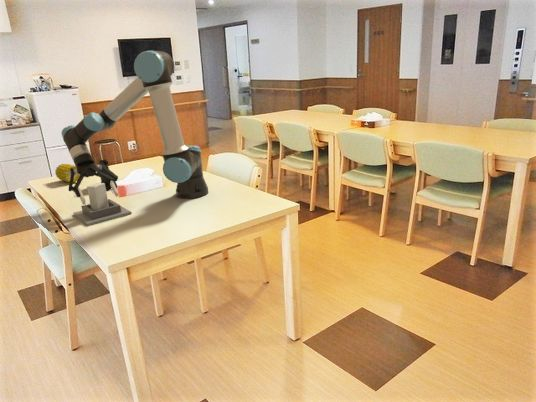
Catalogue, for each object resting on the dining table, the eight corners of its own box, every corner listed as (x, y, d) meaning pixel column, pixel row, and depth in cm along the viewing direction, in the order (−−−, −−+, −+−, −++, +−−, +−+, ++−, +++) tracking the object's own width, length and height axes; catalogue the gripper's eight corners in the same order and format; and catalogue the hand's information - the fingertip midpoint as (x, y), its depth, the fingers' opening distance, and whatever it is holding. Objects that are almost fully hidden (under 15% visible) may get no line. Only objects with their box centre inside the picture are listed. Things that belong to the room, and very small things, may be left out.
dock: (114, 204, 187) (113, 196, 186) (131, 214, 174) (129, 205, 173) (73, 215, 176) (71, 206, 175) (87, 226, 163) (85, 216, 162)
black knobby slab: (107, 189, 205) (99, 160, 206) (103, 194, 216) (96, 167, 217) (114, 187, 207) (107, 159, 208) (111, 192, 218) (103, 165, 219)
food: (56, 180, 231) (52, 163, 228) (78, 177, 237) (75, 159, 234) (60, 186, 219) (56, 168, 216) (84, 182, 225) (80, 164, 222)
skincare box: (102, 209, 178) (97, 182, 174) (110, 210, 176) (105, 182, 172) (91, 213, 173) (85, 186, 169) (99, 215, 171) (93, 187, 167)
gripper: (109, 157, 187) (128, 196, 181) (50, 168, 172) (68, 211, 166) (112, 147, 182) (131, 187, 176) (51, 158, 167) (70, 201, 161)
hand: (101, 198), depth 171 cm, fingers open, 13 cm apart
